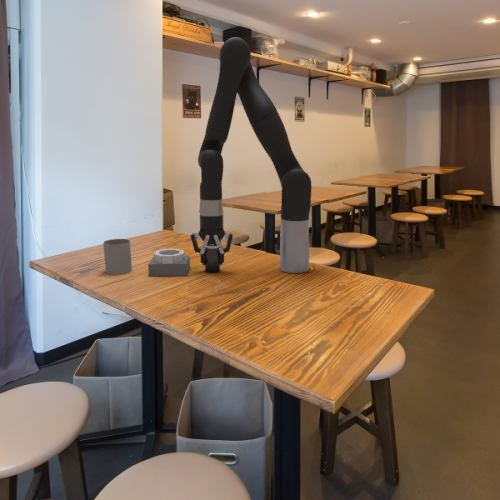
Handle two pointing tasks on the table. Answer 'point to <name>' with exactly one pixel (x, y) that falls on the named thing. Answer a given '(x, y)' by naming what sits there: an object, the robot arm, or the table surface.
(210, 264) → the lens
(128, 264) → the cup
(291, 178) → the robot arm
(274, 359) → the table surface
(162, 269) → the grey block with ring
